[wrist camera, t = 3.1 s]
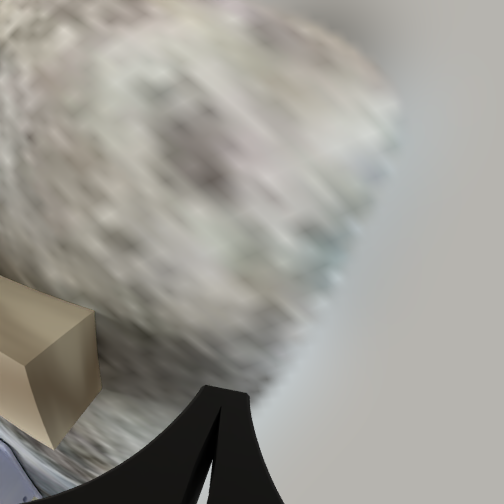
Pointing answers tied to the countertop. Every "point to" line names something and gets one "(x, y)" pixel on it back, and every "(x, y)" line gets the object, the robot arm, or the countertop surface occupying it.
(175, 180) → the countertop surface
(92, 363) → the birch bar
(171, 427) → the robot arm
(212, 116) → the countertop surface
